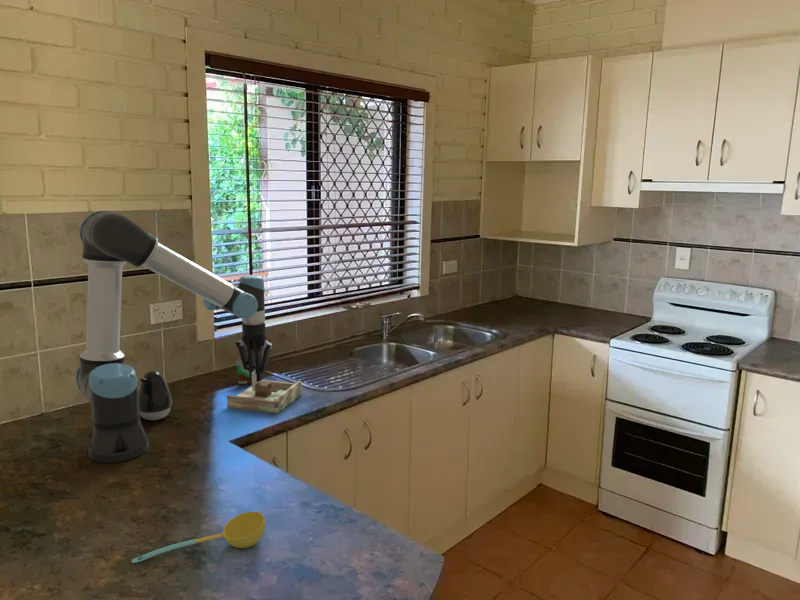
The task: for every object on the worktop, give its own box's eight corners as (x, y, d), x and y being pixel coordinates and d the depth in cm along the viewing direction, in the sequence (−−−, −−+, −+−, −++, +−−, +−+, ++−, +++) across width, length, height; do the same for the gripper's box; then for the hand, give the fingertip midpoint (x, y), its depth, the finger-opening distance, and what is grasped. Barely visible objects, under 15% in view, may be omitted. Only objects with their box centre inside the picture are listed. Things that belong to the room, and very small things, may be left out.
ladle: (272, 547, 127) (265, 524, 125) (138, 598, 120) (129, 574, 118) (267, 523, 135) (260, 501, 133) (141, 569, 128) (132, 546, 126)
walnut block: (266, 397, 206) (265, 386, 205) (255, 396, 207) (254, 385, 206) (271, 393, 210) (271, 382, 209) (261, 392, 211) (260, 381, 210)
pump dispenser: (130, 422, 190) (126, 374, 187) (151, 409, 200) (147, 364, 197) (159, 425, 188) (156, 377, 184) (179, 412, 197) (176, 367, 194)
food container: (252, 388, 221) (251, 361, 219) (236, 386, 222) (235, 360, 220) (266, 377, 232) (266, 351, 230) (251, 375, 234) (250, 350, 232)
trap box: (277, 414, 197) (276, 399, 196) (227, 407, 202) (226, 393, 201) (301, 395, 214) (301, 381, 213) (254, 389, 219) (254, 376, 218)
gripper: (276, 321, 206) (278, 388, 210) (241, 318, 209) (244, 384, 214) (266, 326, 199) (268, 395, 203) (230, 323, 202) (233, 391, 207)
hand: (256, 390), depth 209 cm, fingers closed
